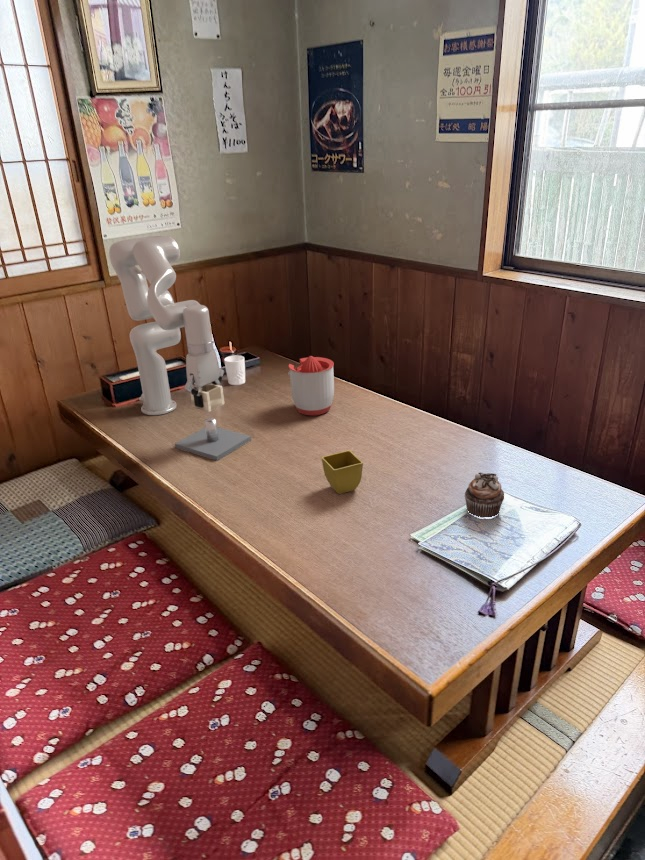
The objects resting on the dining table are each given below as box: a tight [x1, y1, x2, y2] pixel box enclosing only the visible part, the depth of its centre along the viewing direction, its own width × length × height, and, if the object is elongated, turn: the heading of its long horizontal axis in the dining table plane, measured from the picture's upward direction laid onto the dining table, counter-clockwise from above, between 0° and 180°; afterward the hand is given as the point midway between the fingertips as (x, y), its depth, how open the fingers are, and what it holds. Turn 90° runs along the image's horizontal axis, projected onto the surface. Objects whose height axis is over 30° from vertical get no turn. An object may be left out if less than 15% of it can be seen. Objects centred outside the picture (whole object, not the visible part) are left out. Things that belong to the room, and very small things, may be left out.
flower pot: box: [321, 450, 364, 495], centre depth 172 cm, size 9×9×9 cm
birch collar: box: [189, 383, 225, 413], centre depth 196 cm, size 7×7×6 cm
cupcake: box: [464, 472, 505, 517], centre depth 159 cm, size 10×10×10 cm
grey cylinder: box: [204, 417, 219, 442], centre depth 201 cm, size 4×4×7 cm
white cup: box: [223, 354, 246, 386], centre depth 250 cm, size 8×8×10 cm
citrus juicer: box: [287, 355, 335, 416], centre depth 221 cm, size 16×17×20 cm
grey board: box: [174, 426, 252, 462], centre depth 203 cm, size 18×16×2 cm
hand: (208, 402), depth 197 cm, fingers closed on birch collar, 7 cm apart
